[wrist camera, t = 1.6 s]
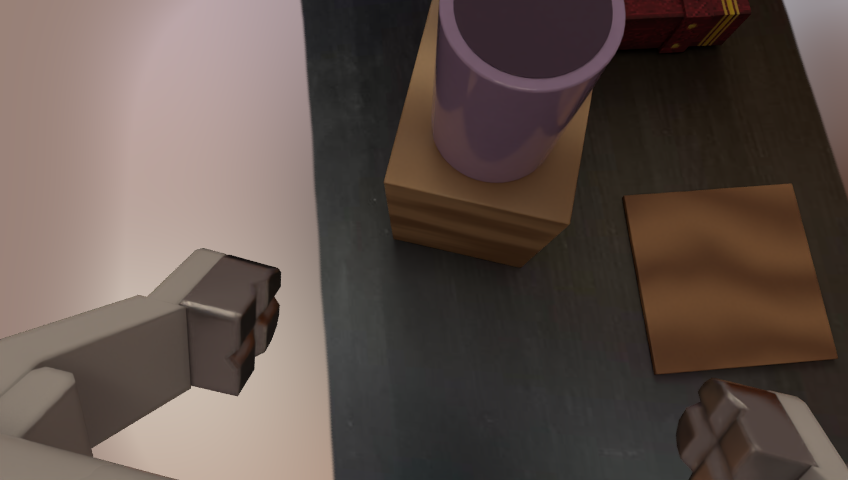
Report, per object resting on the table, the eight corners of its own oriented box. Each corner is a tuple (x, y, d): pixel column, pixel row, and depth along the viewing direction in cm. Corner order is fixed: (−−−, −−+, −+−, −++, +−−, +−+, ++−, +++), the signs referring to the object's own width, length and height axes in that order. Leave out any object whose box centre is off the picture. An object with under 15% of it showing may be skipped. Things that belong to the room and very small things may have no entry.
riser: (520, 268, 37) (570, 224, 25) (392, 238, 37) (383, 182, 26) (559, 66, 41) (617, -52, 29) (442, 40, 41) (454, -86, 30)
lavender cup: (504, 209, 26) (552, 128, 17) (404, 129, 26) (400, 13, 18) (581, 118, 27) (664, -2, 18) (484, 45, 28) (516, -103, 19)
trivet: (833, 358, 36) (838, 358, 36) (653, 374, 35) (656, 374, 35) (788, 185, 39) (792, 183, 39) (621, 197, 38) (624, 195, 38)
